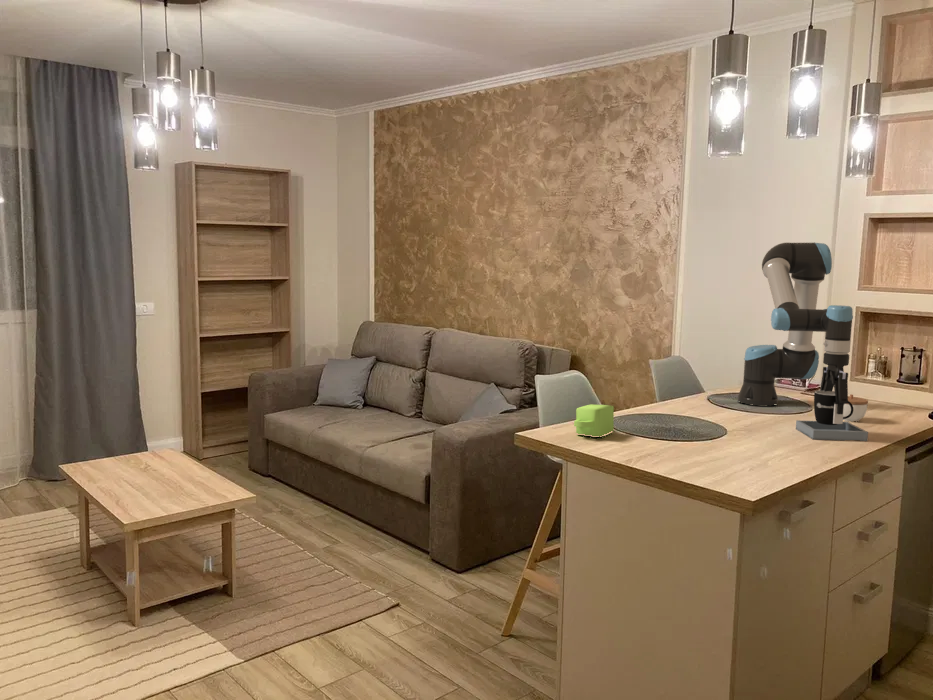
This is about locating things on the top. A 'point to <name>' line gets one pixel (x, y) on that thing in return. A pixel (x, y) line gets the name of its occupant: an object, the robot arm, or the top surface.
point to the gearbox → (594, 419)
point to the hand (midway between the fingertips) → (831, 420)
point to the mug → (826, 407)
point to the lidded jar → (855, 408)
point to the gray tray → (831, 431)
